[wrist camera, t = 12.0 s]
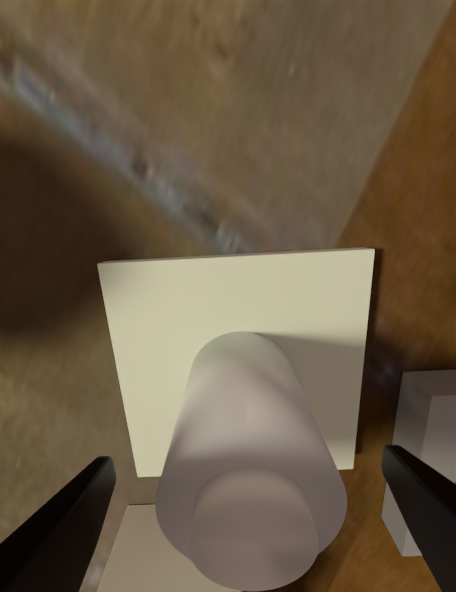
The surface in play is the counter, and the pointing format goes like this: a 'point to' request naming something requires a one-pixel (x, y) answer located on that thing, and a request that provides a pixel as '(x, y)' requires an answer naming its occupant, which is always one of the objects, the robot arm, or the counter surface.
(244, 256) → the dock pad
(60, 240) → the counter surface
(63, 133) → the counter surface
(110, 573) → the plunger housing
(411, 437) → the socket
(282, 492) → the cylinder
